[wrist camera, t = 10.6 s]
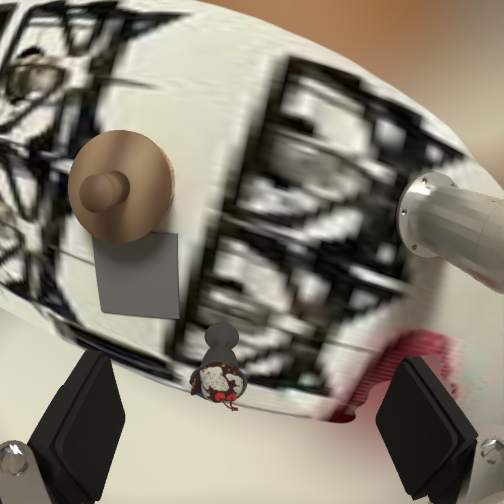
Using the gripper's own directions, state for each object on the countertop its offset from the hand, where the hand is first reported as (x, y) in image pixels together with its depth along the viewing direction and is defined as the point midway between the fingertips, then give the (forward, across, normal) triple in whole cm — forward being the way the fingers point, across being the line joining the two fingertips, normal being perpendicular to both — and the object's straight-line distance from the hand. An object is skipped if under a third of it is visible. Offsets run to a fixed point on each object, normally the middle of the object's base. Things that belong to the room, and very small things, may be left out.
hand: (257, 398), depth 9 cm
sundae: (+31, +2, +18) cm, 35 cm away
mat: (+30, +14, +9) cm, 35 cm away
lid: (+25, +14, -4) cm, 29 cm away
